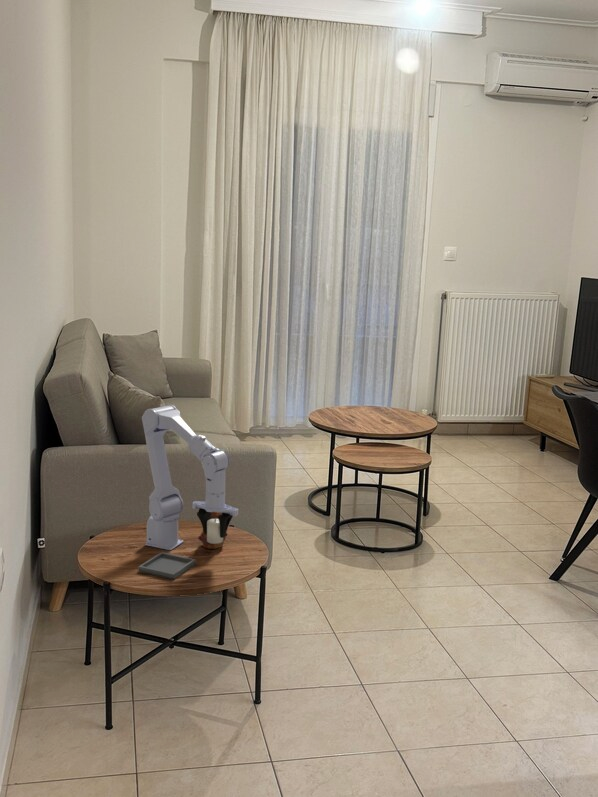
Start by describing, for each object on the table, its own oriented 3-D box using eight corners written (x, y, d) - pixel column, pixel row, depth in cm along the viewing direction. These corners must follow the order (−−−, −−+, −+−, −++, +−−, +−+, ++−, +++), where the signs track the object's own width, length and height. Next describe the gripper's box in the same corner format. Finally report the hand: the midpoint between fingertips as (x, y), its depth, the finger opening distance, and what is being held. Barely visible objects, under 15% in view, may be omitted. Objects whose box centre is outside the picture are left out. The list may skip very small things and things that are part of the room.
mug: (220, 553, 248) (221, 507, 245) (195, 550, 250) (195, 504, 247) (234, 536, 262) (234, 492, 259) (210, 533, 264) (210, 489, 261)
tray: (138, 571, 233) (138, 566, 233) (161, 556, 244) (161, 551, 244) (173, 579, 229) (173, 574, 228) (195, 564, 239) (195, 559, 239)
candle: (203, 541, 238) (204, 520, 237) (212, 536, 243) (212, 515, 241) (218, 544, 236) (218, 522, 235) (226, 539, 241) (226, 517, 239)
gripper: (187, 491, 235) (186, 535, 238) (230, 499, 230) (230, 544, 233) (199, 484, 242) (199, 527, 245) (242, 492, 236) (241, 535, 239)
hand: (215, 535), depth 239 cm, fingers closed on candle, 5 cm apart
